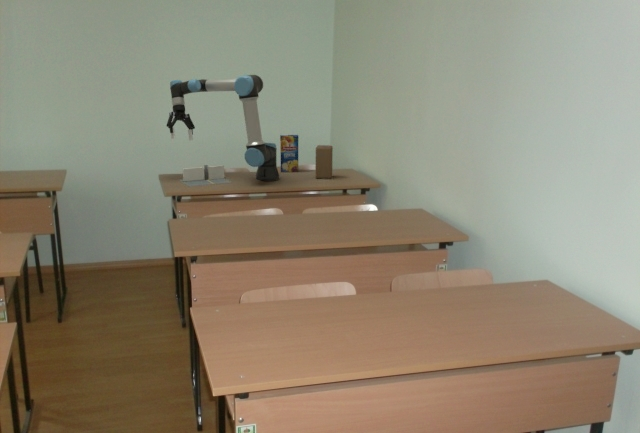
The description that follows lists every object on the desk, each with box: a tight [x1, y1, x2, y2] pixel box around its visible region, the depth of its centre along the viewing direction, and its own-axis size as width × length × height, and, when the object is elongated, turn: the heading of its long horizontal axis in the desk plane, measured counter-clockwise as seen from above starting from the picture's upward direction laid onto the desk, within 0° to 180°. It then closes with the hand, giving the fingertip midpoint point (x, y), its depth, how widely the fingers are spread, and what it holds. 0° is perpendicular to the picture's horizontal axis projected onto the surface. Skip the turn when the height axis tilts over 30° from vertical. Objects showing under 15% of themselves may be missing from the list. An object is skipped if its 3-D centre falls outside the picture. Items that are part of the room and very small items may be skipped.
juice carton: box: [279, 134, 299, 173], centre depth 420 cm, size 12×8×24 cm, turn 94°
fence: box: [203, 164, 225, 180], centre depth 391 cm, size 12×2×9 cm, turn 117°
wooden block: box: [315, 144, 334, 180], centre depth 400 cm, size 10×10×20 cm
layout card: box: [179, 177, 233, 187], centre depth 386 cm, size 27×22×1 cm
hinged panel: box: [182, 166, 205, 181], centre depth 385 cm, size 13×1×8 cm, turn 117°
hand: (182, 139), depth 386 cm, fingers open, 13 cm apart
